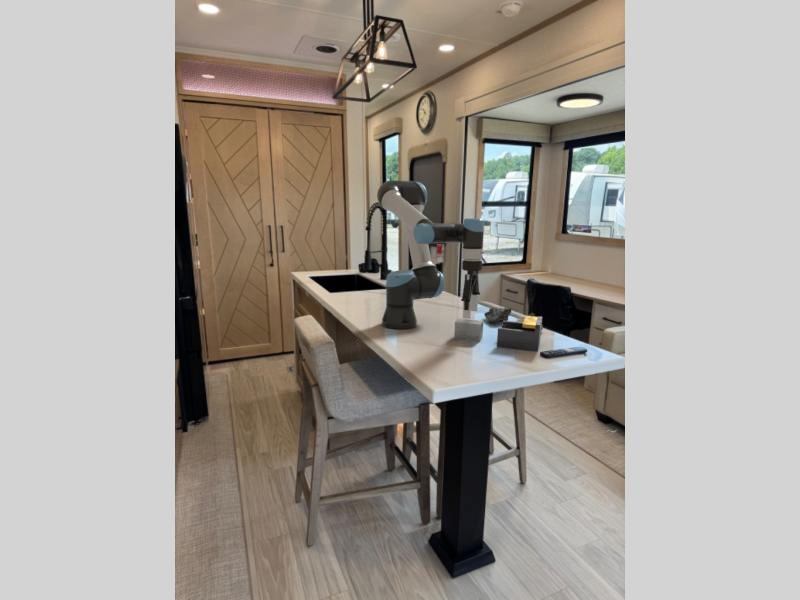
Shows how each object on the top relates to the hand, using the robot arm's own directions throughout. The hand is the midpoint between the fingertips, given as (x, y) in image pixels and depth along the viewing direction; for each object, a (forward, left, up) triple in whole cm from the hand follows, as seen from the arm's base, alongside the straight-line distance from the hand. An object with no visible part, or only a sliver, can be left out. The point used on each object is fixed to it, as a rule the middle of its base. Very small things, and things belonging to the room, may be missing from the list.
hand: (470, 314), depth 170 cm
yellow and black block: (+21, +21, -10) cm, 31 cm away
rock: (+6, +32, -10) cm, 34 cm away
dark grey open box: (+19, 0, -10) cm, 21 cm away
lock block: (0, 0, -10) cm, 10 cm away
